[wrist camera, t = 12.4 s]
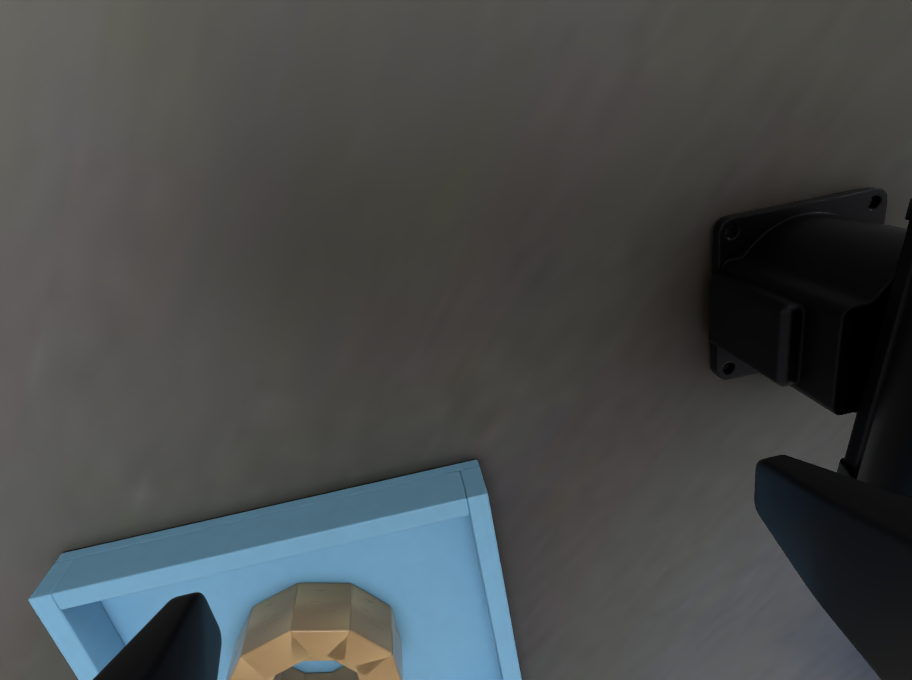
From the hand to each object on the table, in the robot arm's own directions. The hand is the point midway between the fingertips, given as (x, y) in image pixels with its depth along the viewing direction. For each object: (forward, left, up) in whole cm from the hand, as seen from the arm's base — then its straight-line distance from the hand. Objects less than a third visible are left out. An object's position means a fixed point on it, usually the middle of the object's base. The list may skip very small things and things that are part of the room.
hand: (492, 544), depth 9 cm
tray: (+7, +14, -12) cm, 20 cm away
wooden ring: (+7, +14, -12) cm, 19 cm away
